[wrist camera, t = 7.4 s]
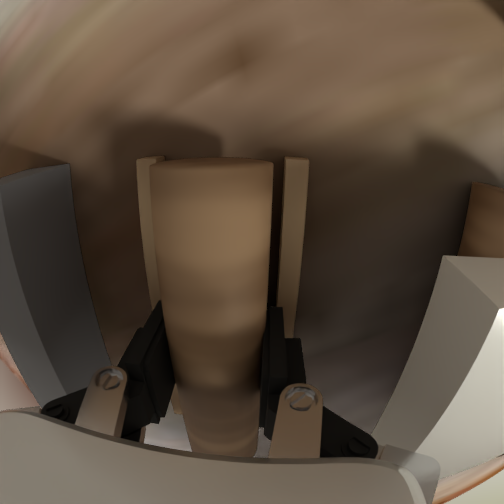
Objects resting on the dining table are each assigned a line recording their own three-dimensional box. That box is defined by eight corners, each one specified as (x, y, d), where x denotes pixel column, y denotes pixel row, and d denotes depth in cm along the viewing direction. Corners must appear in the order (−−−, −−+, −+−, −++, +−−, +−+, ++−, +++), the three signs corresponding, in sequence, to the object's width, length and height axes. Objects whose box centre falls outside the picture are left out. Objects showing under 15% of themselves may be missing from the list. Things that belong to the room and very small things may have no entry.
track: (492, 382, 16) (513, 417, 12) (178, 401, 17) (163, 453, 13) (561, 205, 10) (603, 227, 7) (145, 156, 11) (94, 172, 7)
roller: (257, 419, 16) (256, 471, 12) (195, 415, 16) (186, 466, 12) (271, 158, 10) (276, 172, 7) (169, 158, 10) (129, 173, 7)
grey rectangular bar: (121, 391, 17) (97, 444, 13) (83, 382, 17) (56, 430, 13) (69, 163, 11) (-1, 185, 7) (26, 169, 11) (-40, 193, 7)
